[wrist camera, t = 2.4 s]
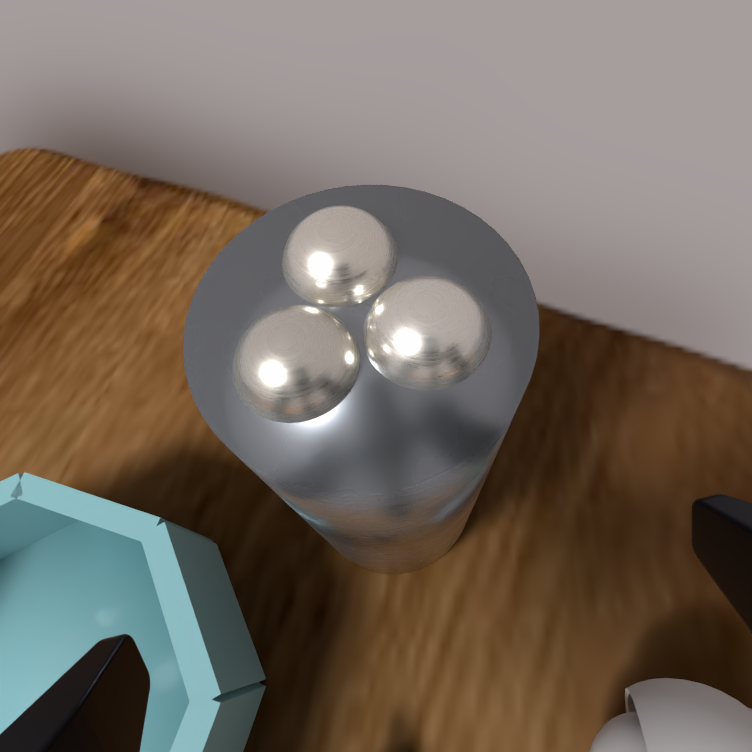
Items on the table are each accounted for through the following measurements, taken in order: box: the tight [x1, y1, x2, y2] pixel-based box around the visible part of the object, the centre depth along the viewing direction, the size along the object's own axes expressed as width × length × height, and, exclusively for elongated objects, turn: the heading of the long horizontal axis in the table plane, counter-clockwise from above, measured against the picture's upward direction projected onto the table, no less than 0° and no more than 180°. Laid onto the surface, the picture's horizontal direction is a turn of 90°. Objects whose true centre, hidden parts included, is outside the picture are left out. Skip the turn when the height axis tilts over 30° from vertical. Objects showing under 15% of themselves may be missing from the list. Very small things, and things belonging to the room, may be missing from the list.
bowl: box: [0, 472, 266, 752], centre depth 16 cm, size 13×13×4 cm
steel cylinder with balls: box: [183, 185, 540, 574], centre depth 14 cm, size 6×6×13 cm
